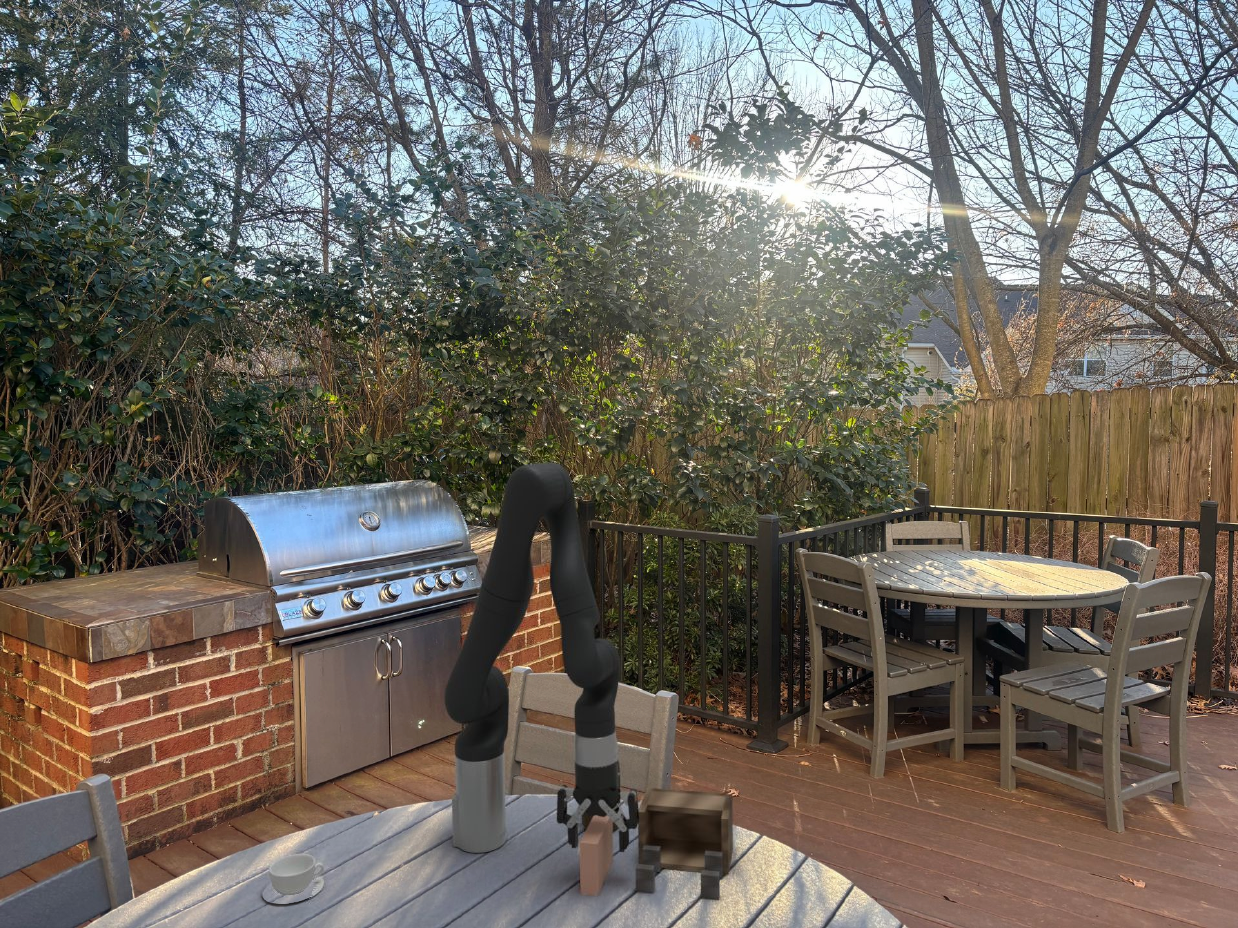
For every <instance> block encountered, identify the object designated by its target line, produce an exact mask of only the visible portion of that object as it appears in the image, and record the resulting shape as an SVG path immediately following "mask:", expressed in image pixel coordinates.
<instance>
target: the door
mask: <svg viewBox="0 0 1238 928" xmlns="http://www.w3.org/2000/svg"><path fill="white" fill-rule="evenodd" d="M613 835H614V832H613V822H612V820H611V819H610V818H609V816H608V815H607V816H605V817H600V816H597V815H595V816H593V818H592V820H591V822H590V824H589V826H588V828H587V830H585V832H584V833H583V836H582V838H581V839H580V842H579V845H578V846H577V856H578V857H579V864H580V865H579V866H580V867H579V871H580V874H579V875H580V876H579V878H580V895H582V894H587V895H586V896H591V895H598V894H599V895H600V893H601V890H602V888H603V885H604V883H605V880H606V878H607V875H608V873H609V870H610V868H611V866H612V864H613V861H614V843H613V842H614V836H613ZM611 863H612V864H611ZM599 892H600V893H599ZM599 895H598V896H599Z"/></svg>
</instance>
